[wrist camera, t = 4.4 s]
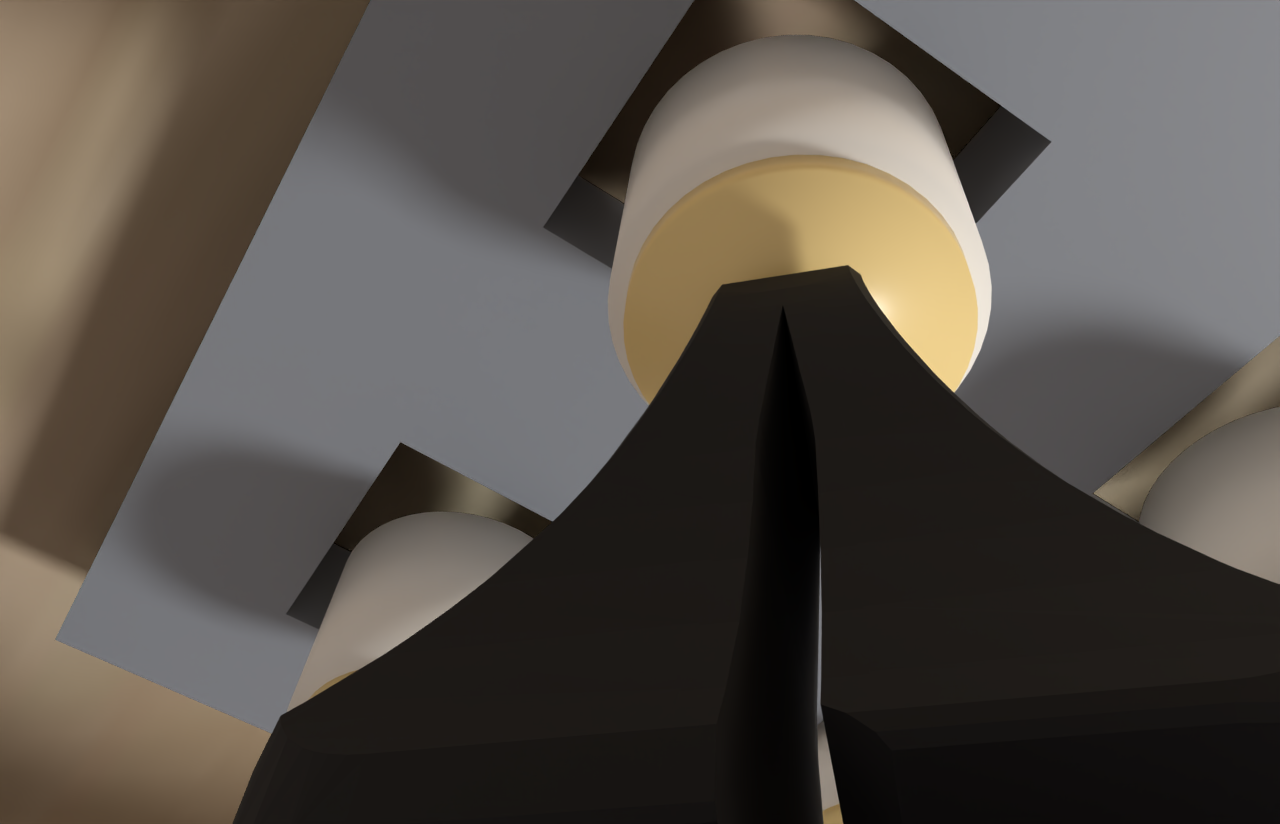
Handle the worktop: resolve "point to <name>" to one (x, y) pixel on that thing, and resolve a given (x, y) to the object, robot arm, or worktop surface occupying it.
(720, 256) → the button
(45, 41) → the worktop surface
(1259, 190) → the button board
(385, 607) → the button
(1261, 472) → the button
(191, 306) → the worktop surface
